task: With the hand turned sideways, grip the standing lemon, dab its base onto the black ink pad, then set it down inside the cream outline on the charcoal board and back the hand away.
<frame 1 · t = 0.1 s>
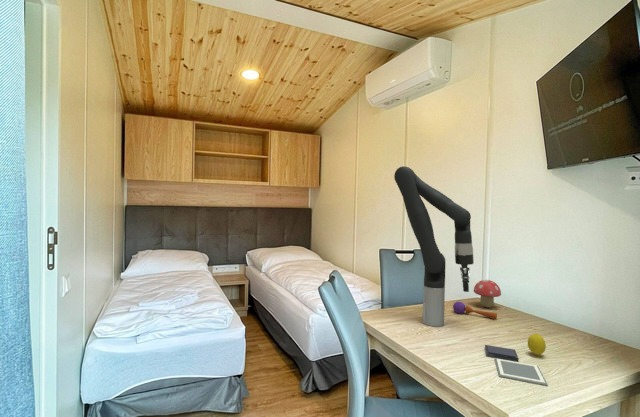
hand: (465, 289, 147), 17 cm above the table, tool pointing down, fingers open, 8 cm apart
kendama: (474, 316, 164), on the table
ink pad: (500, 354, 120), on the table
lemon: (536, 355, 120), on the table
marked board: (519, 371, 107), on the table
decorative mushroom: (486, 307, 178), on the table
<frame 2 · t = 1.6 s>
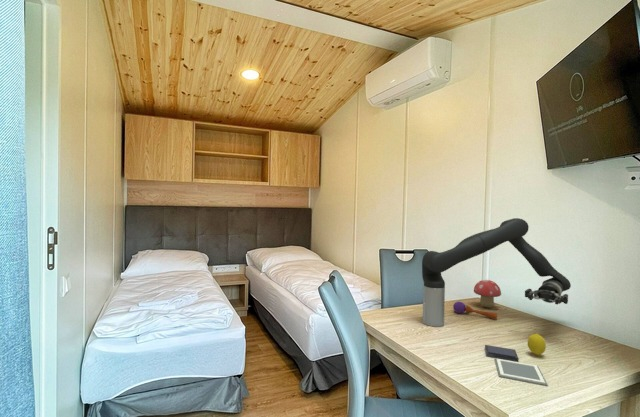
hand: (543, 299, 128), 18 cm above the table, tool horizontal, fingers open, 8 cm apart
nothing on the table moved.
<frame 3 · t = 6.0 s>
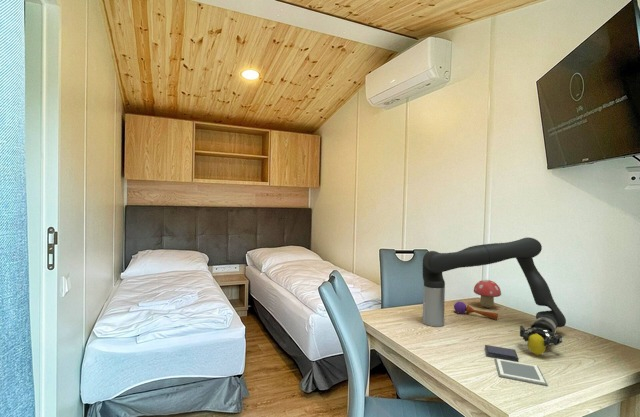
hand: (535, 340, 118), 6 cm above the table, tool horizontal, fingers closed on lemon, 5 cm apart
lemon: (536, 355, 120), on the table, touching gripper
everything else where it was.
when the fingers open (7 cm above the table, at t = 16.5 s): lemon stays where it is, resting on marked board.
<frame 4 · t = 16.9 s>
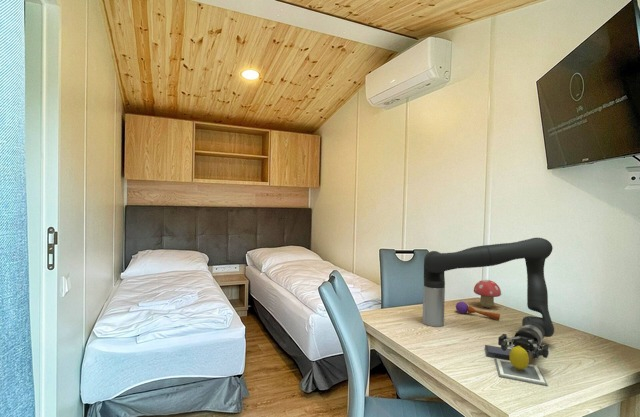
hand: (518, 351, 106), 7 cm above the table, tool horizontal, fingers open, 8 cm apart
lemon: (519, 370, 108), resting on marked board
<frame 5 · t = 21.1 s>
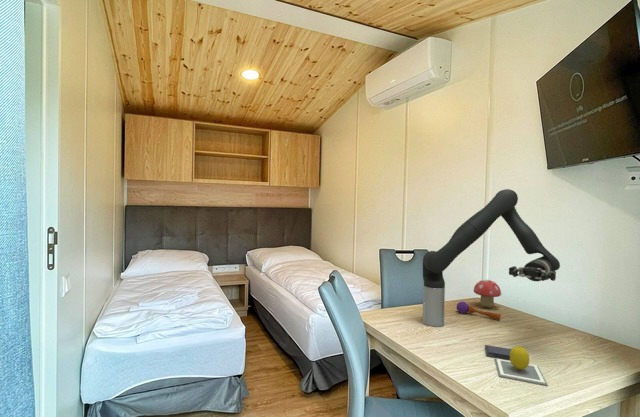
hand: (528, 275, 115), 30 cm above the table, tool horizontal, fingers open, 8 cm apart
at the end: lemon inside the target area on the marked board (0.2 cm from its centre), point 0.2 cm above the marked board's base; the gripper is holding nothing; lemon touching marked board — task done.
